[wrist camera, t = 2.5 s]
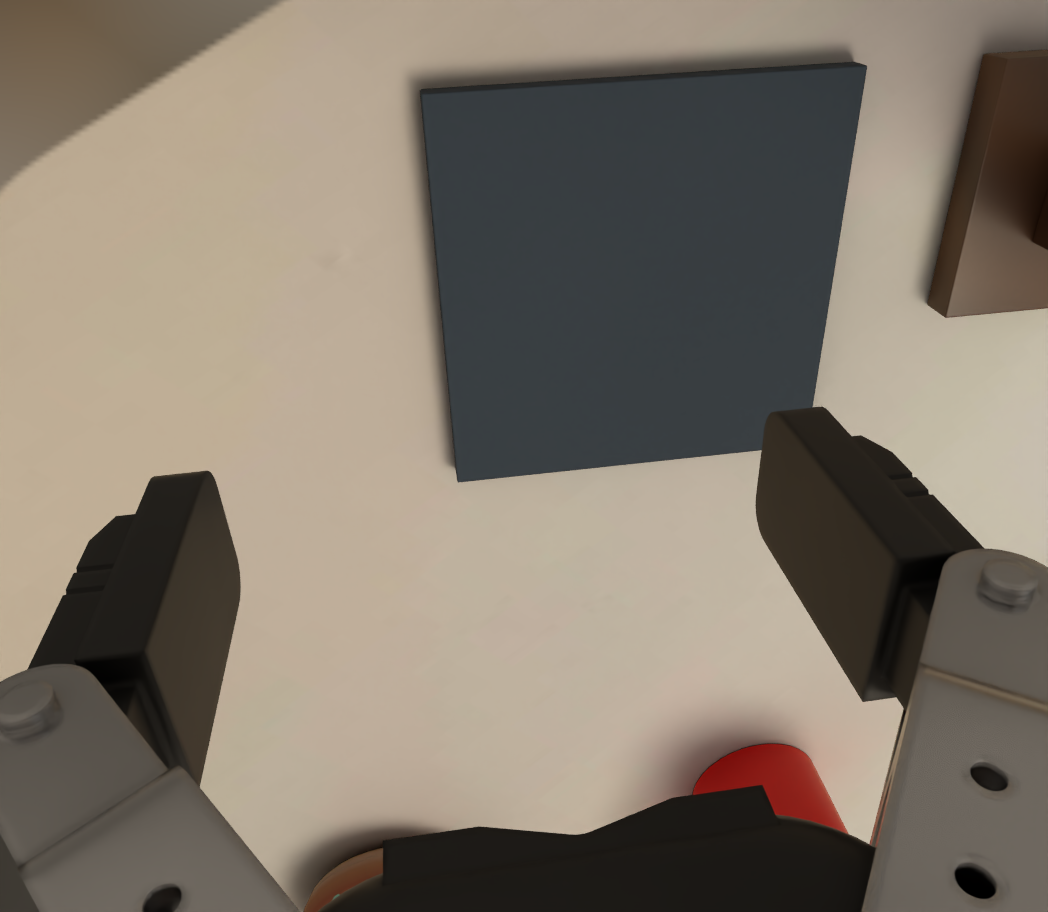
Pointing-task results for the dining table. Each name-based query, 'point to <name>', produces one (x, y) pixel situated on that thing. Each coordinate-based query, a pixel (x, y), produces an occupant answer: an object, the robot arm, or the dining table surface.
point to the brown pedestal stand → (999, 195)
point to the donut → (345, 878)
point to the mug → (775, 781)
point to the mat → (634, 259)
